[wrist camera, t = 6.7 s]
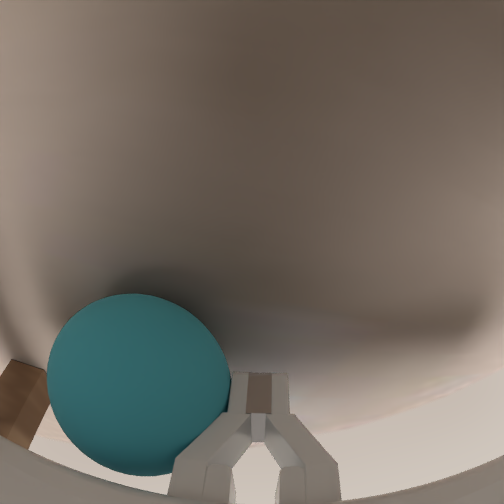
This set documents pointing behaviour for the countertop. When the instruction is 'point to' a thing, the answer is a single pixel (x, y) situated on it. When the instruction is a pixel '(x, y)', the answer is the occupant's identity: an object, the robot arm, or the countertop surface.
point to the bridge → (22, 402)
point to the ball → (136, 382)
